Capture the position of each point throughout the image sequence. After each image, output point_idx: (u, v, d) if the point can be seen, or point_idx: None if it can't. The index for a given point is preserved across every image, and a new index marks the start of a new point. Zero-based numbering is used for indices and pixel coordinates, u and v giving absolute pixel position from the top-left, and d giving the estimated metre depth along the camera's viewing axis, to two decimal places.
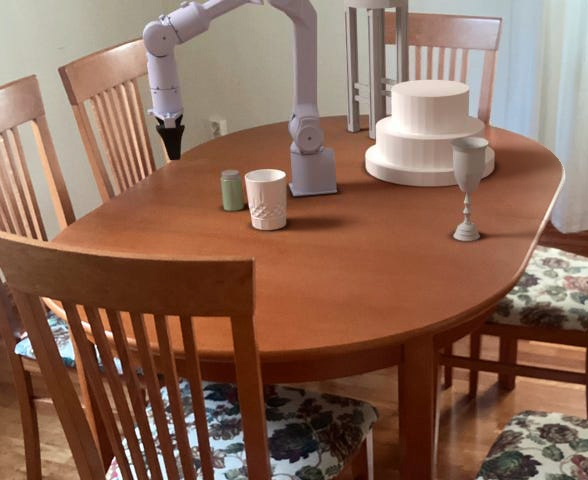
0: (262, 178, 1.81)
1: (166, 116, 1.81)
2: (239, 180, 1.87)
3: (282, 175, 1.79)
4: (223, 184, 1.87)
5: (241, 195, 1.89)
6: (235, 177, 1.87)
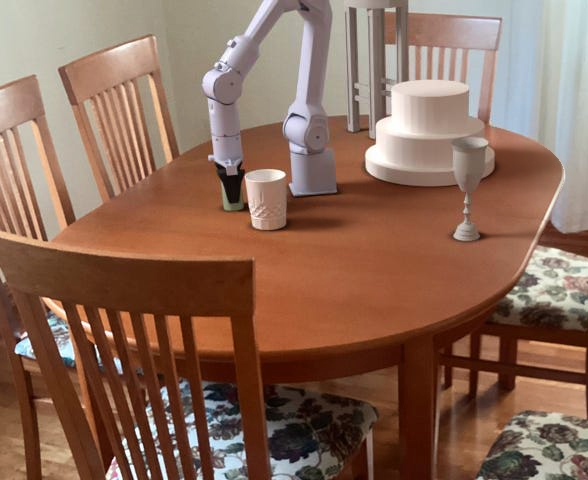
0: (262, 178, 1.81)
1: (228, 163, 1.82)
2: None
3: (282, 175, 1.79)
4: None
5: (241, 195, 1.89)
6: None
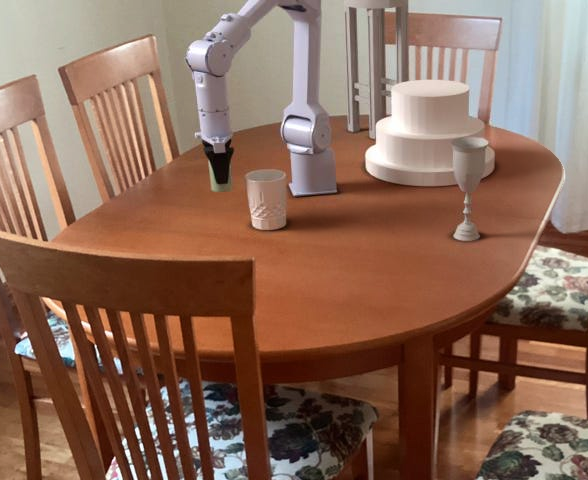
0: (262, 178, 1.81)
1: (215, 140, 1.70)
2: None
3: (282, 175, 1.79)
4: None
5: (230, 175, 1.78)
6: None
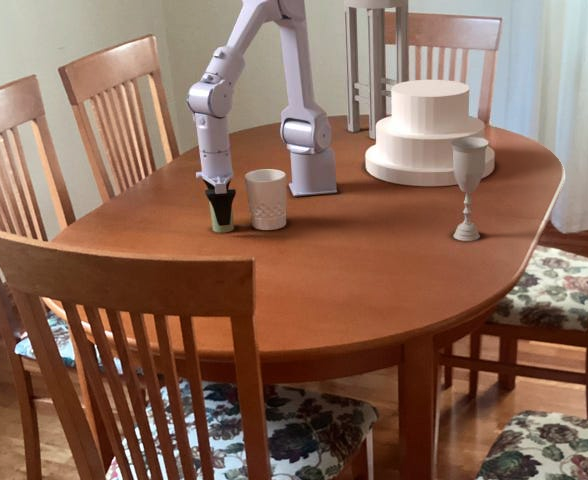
0: (262, 178, 1.81)
1: (216, 181, 1.71)
2: None
3: (282, 175, 1.79)
4: (211, 204, 1.77)
5: (231, 216, 1.79)
6: None
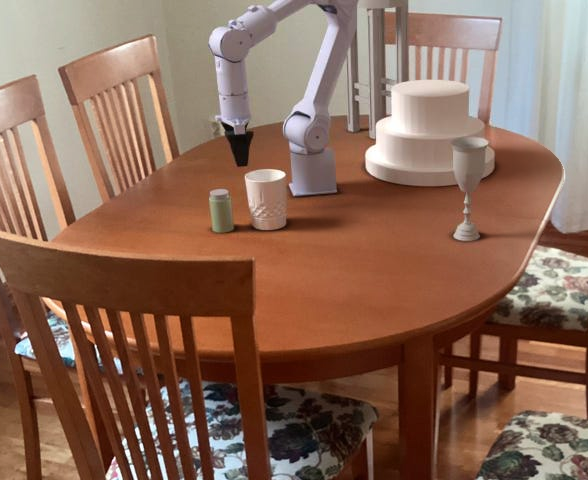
0: (262, 178, 1.81)
1: (235, 122, 1.79)
2: (229, 201, 1.77)
3: (282, 175, 1.79)
4: (211, 204, 1.77)
5: (231, 216, 1.79)
6: (224, 197, 1.76)
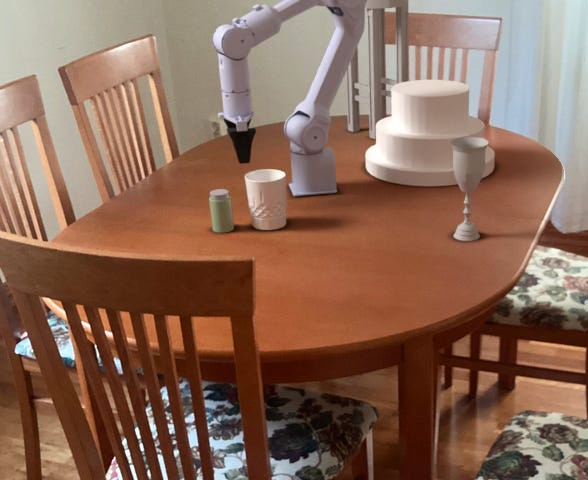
0: (262, 178, 1.81)
1: (238, 119, 1.81)
2: (229, 201, 1.77)
3: (282, 175, 1.79)
4: (211, 204, 1.77)
5: (231, 216, 1.79)
6: (224, 197, 1.76)
